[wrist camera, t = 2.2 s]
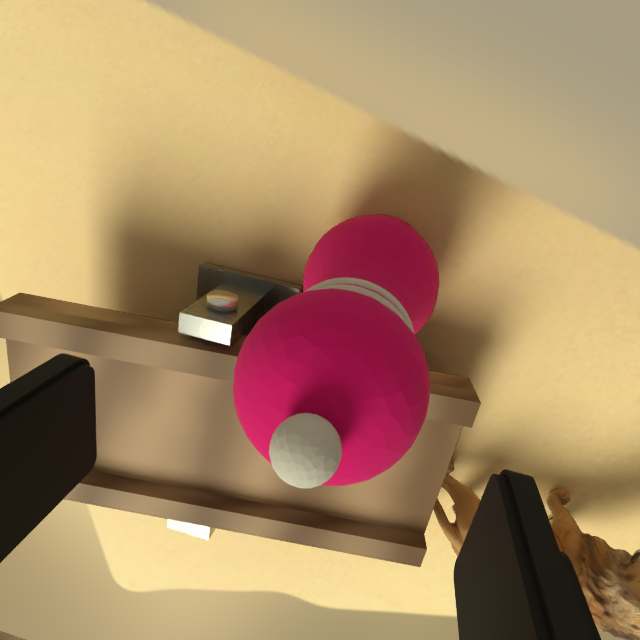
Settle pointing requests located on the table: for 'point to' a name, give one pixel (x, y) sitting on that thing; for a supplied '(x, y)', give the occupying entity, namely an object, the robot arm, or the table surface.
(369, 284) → the pepper mill
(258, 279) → the beam stand
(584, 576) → the lion figurine
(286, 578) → the table surface
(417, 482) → the balance beam
